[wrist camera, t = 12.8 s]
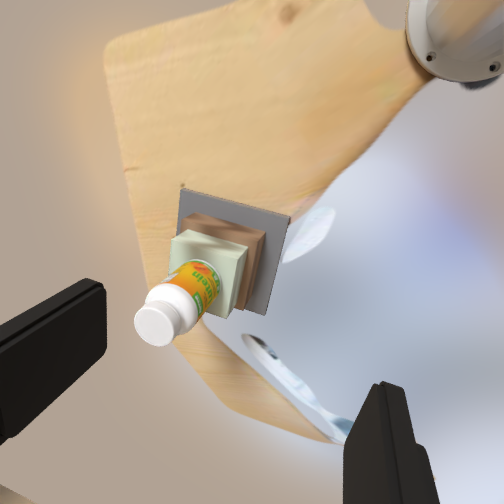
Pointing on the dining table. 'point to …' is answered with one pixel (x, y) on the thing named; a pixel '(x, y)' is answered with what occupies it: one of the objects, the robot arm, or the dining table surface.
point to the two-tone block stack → (221, 256)
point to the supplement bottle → (178, 302)
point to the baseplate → (248, 217)
